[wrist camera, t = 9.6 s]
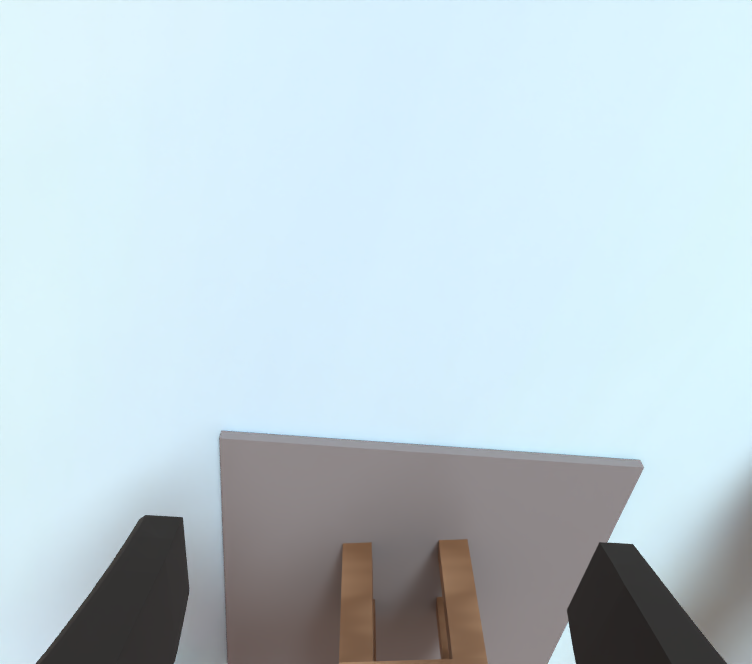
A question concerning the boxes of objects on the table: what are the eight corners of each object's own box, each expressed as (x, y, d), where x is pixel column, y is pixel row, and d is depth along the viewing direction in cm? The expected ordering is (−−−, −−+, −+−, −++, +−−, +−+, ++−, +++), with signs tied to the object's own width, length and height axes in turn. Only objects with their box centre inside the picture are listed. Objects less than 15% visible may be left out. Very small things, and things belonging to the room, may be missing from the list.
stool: (467, 539, 26) (494, 705, 21) (461, 611, 29) (484, 773, 24) (342, 543, 26) (337, 710, 21) (349, 615, 29) (346, 778, 24)
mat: (639, 459, 24) (644, 467, 24) (536, 675, 33) (537, 683, 33) (221, 430, 23) (219, 438, 23) (229, 662, 32) (228, 670, 32)
